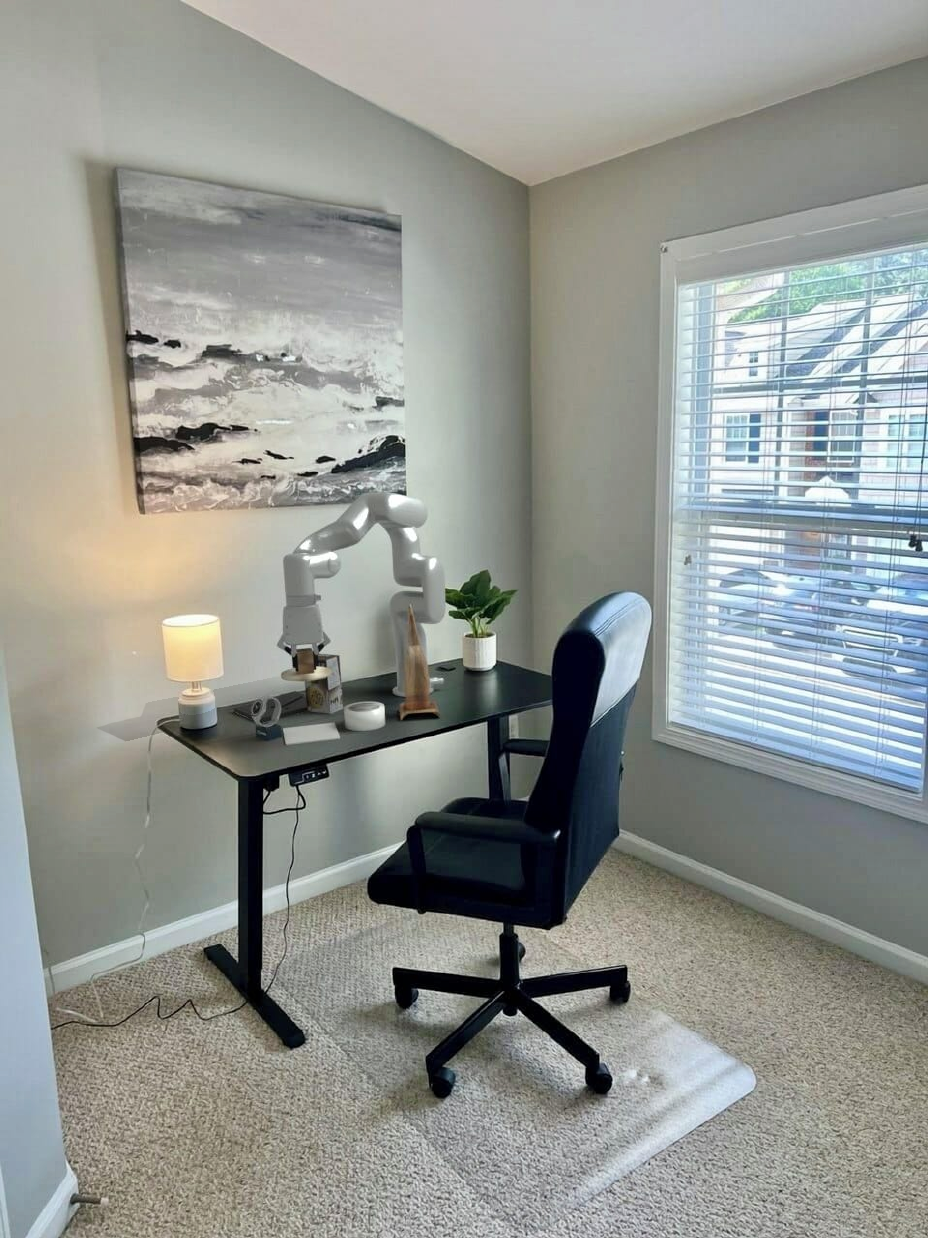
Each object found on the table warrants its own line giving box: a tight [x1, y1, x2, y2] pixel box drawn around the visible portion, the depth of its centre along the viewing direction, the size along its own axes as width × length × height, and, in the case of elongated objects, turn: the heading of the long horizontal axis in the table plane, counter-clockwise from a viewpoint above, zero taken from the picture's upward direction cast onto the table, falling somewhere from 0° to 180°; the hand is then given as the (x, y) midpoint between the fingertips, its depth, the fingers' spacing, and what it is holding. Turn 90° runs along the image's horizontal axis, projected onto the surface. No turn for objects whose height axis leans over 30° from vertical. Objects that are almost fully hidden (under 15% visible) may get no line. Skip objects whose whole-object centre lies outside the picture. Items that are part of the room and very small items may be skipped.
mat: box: [282, 722, 341, 746], centre depth 238 cm, size 14×14×1 cm
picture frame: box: [233, 690, 309, 724], centre depth 263 cm, size 16×3×21 cm
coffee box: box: [304, 653, 344, 715], centre depth 259 cm, size 9×6×16 cm
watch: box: [251, 695, 283, 742], centre depth 237 cm, size 6×8×11 cm
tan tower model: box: [398, 604, 441, 721], centre depth 250 cm, size 11×12×32 cm
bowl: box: [343, 701, 386, 732], centre depth 244 cm, size 11×11×5 cm
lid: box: [280, 647, 331, 682], centre depth 234 cm, size 13×13×7 cm
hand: (305, 669), depth 235 cm, fingers closed on lid, 4 cm apart
